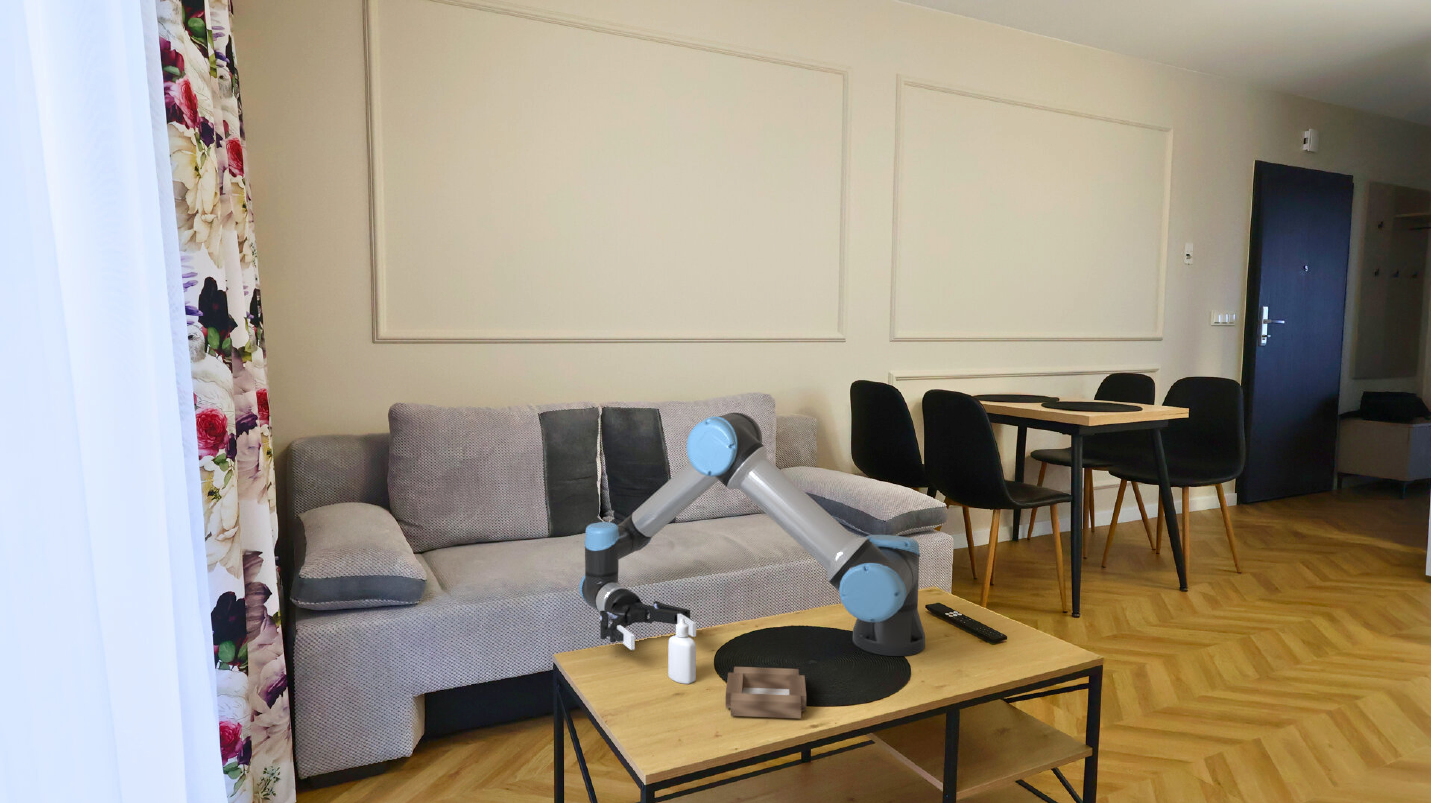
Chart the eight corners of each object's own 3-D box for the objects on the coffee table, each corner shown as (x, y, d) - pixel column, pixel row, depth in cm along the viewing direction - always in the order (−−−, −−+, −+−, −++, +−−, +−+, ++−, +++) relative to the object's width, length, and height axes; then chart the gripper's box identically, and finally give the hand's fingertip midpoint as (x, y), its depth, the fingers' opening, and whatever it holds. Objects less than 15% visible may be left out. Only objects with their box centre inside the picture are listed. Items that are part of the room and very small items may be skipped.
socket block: (803, 685, 154) (803, 669, 154) (806, 721, 140) (807, 702, 140) (728, 683, 155) (728, 666, 155) (724, 717, 141) (724, 699, 141)
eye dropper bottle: (687, 671, 160) (688, 611, 159) (697, 683, 155) (698, 621, 154) (666, 674, 158) (666, 614, 157) (675, 686, 153) (675, 624, 152)
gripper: (670, 611, 186) (718, 642, 168) (565, 631, 173) (605, 667, 155) (670, 579, 186) (718, 606, 167) (564, 597, 173) (605, 628, 155)
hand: (664, 636), depth 161 cm, fingers open, 13 cm apart
